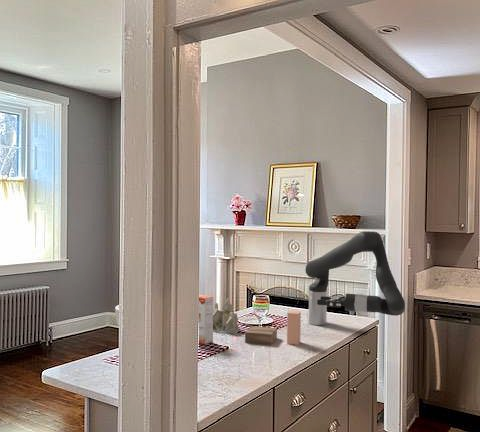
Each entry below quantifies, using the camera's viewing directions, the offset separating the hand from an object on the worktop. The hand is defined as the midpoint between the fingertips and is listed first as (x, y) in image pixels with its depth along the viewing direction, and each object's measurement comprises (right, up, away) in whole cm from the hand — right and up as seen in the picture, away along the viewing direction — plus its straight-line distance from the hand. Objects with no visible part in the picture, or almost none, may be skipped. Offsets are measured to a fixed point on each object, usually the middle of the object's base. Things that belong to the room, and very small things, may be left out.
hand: (319, 300), depth 219 cm
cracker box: (-54, -20, +6) cm, 58 cm away
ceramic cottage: (-44, -19, +26) cm, 55 cm away
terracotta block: (-11, -20, +4) cm, 23 cm away
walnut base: (-25, -20, +8) cm, 33 cm away
